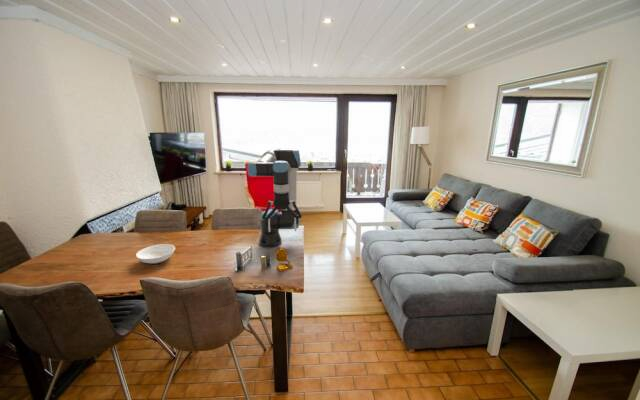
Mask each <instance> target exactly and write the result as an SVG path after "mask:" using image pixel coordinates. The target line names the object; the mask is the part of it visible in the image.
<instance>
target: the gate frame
mask: <svg viewBox="0 0 640 400" xmlns="http://www.w3.org/2000/svg"><path fill="white" fill-rule="evenodd" d="M241 253H242V252H240V251H239V252H238V251H237V252H236V253H235V257H236V266H235V269H234V272H235V273H239V272H244V270H245V268H244V265H243V266H241ZM260 263H261V264H260V265H261V269H266V268H270V267H271V250H270V249H268V248H267V249H265V255H262V256H261V255H260Z"/></svg>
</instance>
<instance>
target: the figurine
mask: <svg viewBox="0 0 640 400" xmlns="http://www.w3.org/2000/svg"><path fill="white" fill-rule="evenodd" d="M275 251H276V253H275V255H273V256H272V258H276V261H277V262H278V264H277V265H276V271H277V272H286V271H289V270H292V269H293V265H292V264H290V263H291V260H289V259H288V252H287V250H286V249H285V248H283V247H279V246H278V247H277V248H274V249H273V252H275ZM285 262H287V263H285Z"/></svg>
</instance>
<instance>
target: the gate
mask: <svg viewBox="0 0 640 400" xmlns="http://www.w3.org/2000/svg"><path fill="white" fill-rule="evenodd" d="M240 253H241V266H244V264H245V263H246V262H247V261H248V260H250V259H252V258H253V257H254V256H253V255H254V254H253V245H249V247H247V248H246V249H245V250H243V251H242V252H240Z"/></svg>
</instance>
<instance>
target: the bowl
mask: <svg viewBox="0 0 640 400" xmlns="http://www.w3.org/2000/svg"><path fill="white" fill-rule="evenodd" d="M175 250H176V246H175V245H173V244H171V243H160V244H155V245H149V246H148V247H144V248H142V249H140V250H139V251H137V252H136V254H135V257H136V258H137V259H138V260H139V261H140V262H142V263H147V264H159V263H163V262H164V261H166V260H168V259H169V258H170V257H172V256H173V254H174V251H175Z"/></svg>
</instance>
